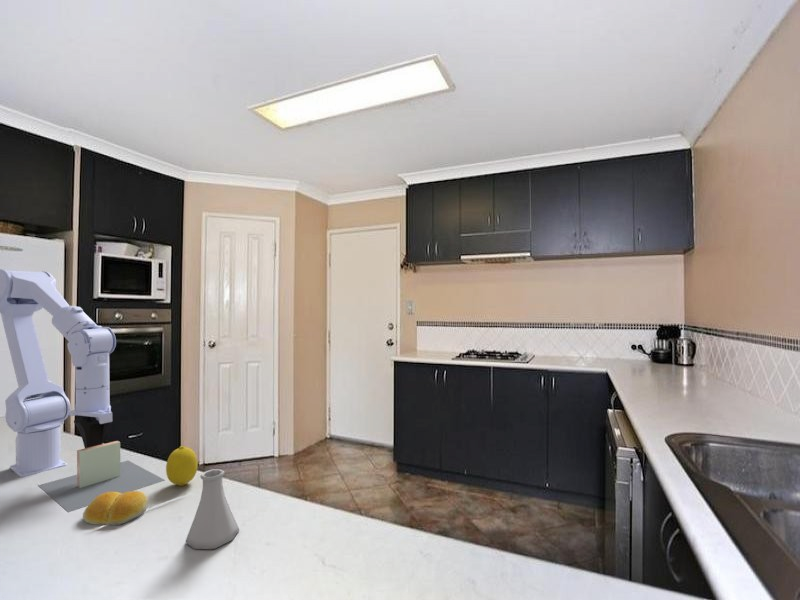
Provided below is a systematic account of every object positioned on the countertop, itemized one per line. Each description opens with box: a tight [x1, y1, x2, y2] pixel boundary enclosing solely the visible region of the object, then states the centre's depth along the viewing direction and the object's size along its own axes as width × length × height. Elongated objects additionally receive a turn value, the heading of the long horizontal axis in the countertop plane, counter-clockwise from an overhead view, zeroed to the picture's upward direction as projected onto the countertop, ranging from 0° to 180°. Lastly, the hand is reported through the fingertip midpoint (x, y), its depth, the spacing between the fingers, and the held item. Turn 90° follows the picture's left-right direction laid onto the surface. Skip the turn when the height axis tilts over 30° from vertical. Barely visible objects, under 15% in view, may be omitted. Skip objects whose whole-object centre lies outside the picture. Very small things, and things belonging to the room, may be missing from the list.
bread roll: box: [82, 490, 148, 527], centre depth 73 cm, size 8×9×4 cm
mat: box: [37, 460, 165, 513], centre depth 85 cm, size 18×16×1 cm
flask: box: [185, 468, 240, 550], centre depth 66 cm, size 7×7×10 cm
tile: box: [76, 440, 121, 488], centre depth 86 cm, size 2×7×7 cm, turn 143°
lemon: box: [165, 445, 199, 487], centre depth 84 cm, size 6×6×8 cm
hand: (93, 452), depth 88 cm, fingers closed
